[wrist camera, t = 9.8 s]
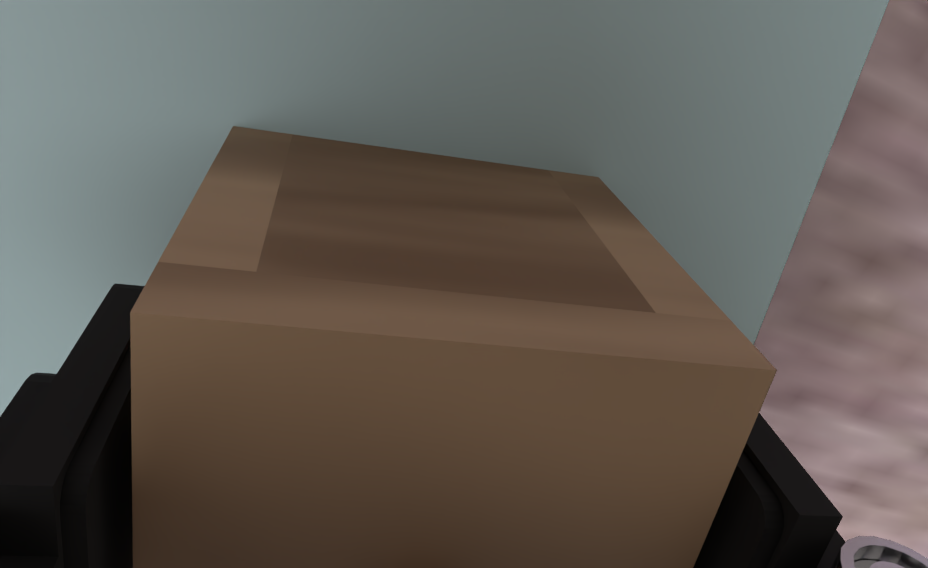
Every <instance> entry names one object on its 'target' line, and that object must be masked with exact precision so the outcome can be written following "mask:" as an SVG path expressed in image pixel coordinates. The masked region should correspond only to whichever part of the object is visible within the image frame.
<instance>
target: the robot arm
mask: <svg viewBox="0 0 928 568" xmlns="http://www.w3.org/2000/svg"><path fill="white" fill-rule="evenodd" d="M143 288H144V286H139V285H127V284H114V285H113V286H112V287H111V289H110V290H109V292H108V293H107V295H106V297H105V298H104V300H103V301H102V303H101V304H100V306H99V308H98V309H97V311H96V312H95V314H94V316H93V317H92V319H91V320H90V322H89V323H88V325H87V327H86V328H85V330H84V331H83V333H82V335H81V336H80V338H79V339H78V341H77V342H76V344H75V346H74V347H73V349H72V350H71V352H70V354H69V355H68V357H67V358H66V360H65V361H64V363H63V365H62V366H61V368H60V369H59V371H58V373H57V374H52V373H34V374H31V375H30V376H29V377H28V378H27V379H26V380H25V381H24V383H23V384H22V386H21V387H20V389H19V390H18V392H17V393H16V394H15V396H14V397H13V399H12V400H11V402H10V403H9V405H8V406H7V407H6V409H5V410H4V412H3V413H2V415H1V416H0V568H133V527H132V434H131V342H130V312H131V310H132V308H133V306H134V305H135V303H136V301H137V299H138V297H139V295H140V294H141V292H142V290H143ZM842 517H843V516H842V515H841V514H840V513H839V511H838V510H837V509H836V508H835V506H834V505H833V504H832V503H831V502H830V500H829V499H828V498H827V497H826V495H825V494H824V493H823V492H822V490H821V489H820V488H819V487H818V485H817V484H816V483H815V482H814V480H813V479H812V478H811V477H810V475H809V474H808V473H807V472H806V471H805V469H804V468H803V467H802V466H801V464H800V463H799V462H798V461H797V459H796V458H795V457H794V456H793V454H792V453H791V452H790V451H789V449H788V448H787V447H786V446H785V444H784V443H783V442H782V441H781V440H780V438H779V437H778V436H777V435H776V433H775V432H774V431H773V430H772V428H771V427H770V426H769V425H768V423H767V422H766V421H765V420H764V418H763V417H762V416H761V415H760V413H759V414H758V416H757V418H756V421H755V423H754V425H753V428H752V430H751V432H750V435H749V437H748V440H747V442H746V444H745V447H744V449H743V451H742V454H741V456H740V458H739V461H738V463H737V465H736V468H735V470H734V473H733V475H732V477H731V480H730V482H729V484H728V487H727V489H726V491H725V494H724V496H723V498H722V501H721V503H720V506H719V508H718V510H717V513H716V515H715V517H714V520H713V522H712V524H711V527H710V529H709V531H708V534H707V536H706V539H705V541H704V543H703V546H702V548H701V550H700V553H699V555H698V557H697V560H696V562H695V564H694V567H693V568H928V559H927V558H925V557H924V556H922V555H920V554H919V553H917V552H915V551H914V550H912V549H910V548H908V547H905V546H903V545H901V544H898V543H896V542H894V541H891V540H887V539H882V538H878V537H874V536H858V537H855V538H852V539H849V540H847V541H846V542H845V541H844V539H843V538H842V537H841V536H840V534H839V533H838V532H837V530H836V529H837V527H838V525H839V523H840V521H841V519H842Z"/></svg>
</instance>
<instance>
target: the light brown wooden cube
mask: <svg viewBox="0 0 928 568" xmlns="http://www.w3.org/2000/svg"><path fill="white" fill-rule="evenodd" d="M130 342H131V434H132V527H133V568H693V567H694V564H695V562H696V560H697V557H698V555H699V553H700V550H701V548H702V546H703V543H704V541H705V539H706V536H707V534H708V531H709V529H710V527H711V524H712V522H713V520H714V517H715V515H716V513H717V510H718V508H719V506H720V503H721V501H722V498H723V496H724V494H725V491H726V489H727V487H728V484H729V482H730V480H731V477H732V475H733V473H734V470H735V468H736V465H737V463H738V461H739V458H740V456H741V454H742V451H743V449H744V447H745V444H746V442H747V440H748V437H749V435H750V432H751V430H752V428H753V425H754V423H755V421H756V418H757V416H758V414H759V411H760V409H761V407H762V404H763V402H764V399H765V397H766V395H767V392H768V390H769V388H770V385H771V383H772V381H773V378H774V376H775V373H776V371H777V370H776V369H775V368H774V367H773V366H772V364H771V363H770V362H769V361H768V360H767V359H766V358H765V357H764V356H763V355H762V354H761V353H760V351H759V350H758V349H757V348H756V347H755V346H754V345H753V344H752V343H751V342H750V341H749V340H748V338H747V337H746V336H745V335H744V334H743V333H742V332H741V331H740V330H739V329H738V328H737V327H736V325H735V324H734V323H733V322H732V321H731V320H730V319H729V318H728V317H727V316H726V315H725V314H724V312H723V311H722V310H721V309H720V308H719V307H718V306H717V305H716V304H715V303H714V302H713V301H712V299H711V298H710V297H709V296H708V295H707V294H706V293H705V292H704V291H703V290H702V289H701V288H700V286H699V285H698V284H697V283H696V282H695V281H694V280H693V279H692V278H691V277H690V276H689V275H688V273H687V272H686V271H685V270H684V269H683V268H682V267H681V266H680V265H679V264H678V263H677V262H676V260H675V259H674V258H673V257H672V256H671V255H670V254H669V253H668V252H667V251H666V250H665V249H664V247H663V246H662V245H661V244H660V243H659V242H658V241H657V240H656V239H655V238H654V237H653V236H652V234H651V233H650V232H649V231H648V230H647V229H646V228H645V227H644V226H643V225H642V224H641V223H640V221H639V220H638V219H637V218H636V217H635V216H634V215H633V214H632V213H631V212H630V211H629V210H628V208H627V207H626V206H625V205H624V204H623V203H622V202H621V201H620V200H619V199H618V198H617V197H616V195H615V194H614V193H613V192H612V191H611V190H610V189H609V188H608V187H607V186H606V185H605V184H604V182H603V181H602V180H601V179H600V178H599V177H594V176H587V175H580V174H573V173H565V172H558V171H551V170H544V169H537V168H530V167H523V166H515V165H508V164H501V163H494V162H487V161H480V160H473V159H465V158H458V157H451V156H444V155H437V154H430V153H422V152H415V151H408V150H401V149H394V148H387V147H380V146H372V145H365V144H358V143H351V142H344V141H337V140H330V139H322V138H315V137H308V136H301V135H294V134H287V133H280V132H272V131H265V130H258V129H251V128H244V127H237V126H233V127H232V129H231V131H230V132H229V134H228V136H227V138H226V140H225V142H224V143H223V145H222V147H221V149H220V151H219V152H218V154H217V156H216V158H215V160H214V161H213V163H212V165H211V167H210V169H209V170H208V172H207V174H206V176H205V178H204V180H203V181H202V183H201V185H200V187H199V189H198V190H197V192H196V194H195V196H194V198H193V199H192V201H191V203H190V205H189V207H188V209H187V210H186V212H185V214H184V216H183V218H182V219H181V221H180V223H179V225H178V227H177V228H176V230H175V232H174V234H173V236H172V238H171V239H170V241H169V243H168V245H167V247H166V248H165V250H164V252H163V254H162V256H161V257H160V259H159V261H158V263H157V265H156V266H155V268H154V270H153V272H152V274H151V276H150V277H149V279H148V281H147V283H146V285H145V286H144V288H143V290H142V292H141V294H140V295H139V297H138V299H137V301H136V303H135V305H134V306H133V308H132V310H131V312H130Z"/></svg>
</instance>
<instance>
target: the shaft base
mask: <svg viewBox="0 0 928 568" xmlns="http://www.w3.org/2000/svg"><path fill="white" fill-rule="evenodd" d="M888 2H889V0H0V416H1V415H2V413H3V412H4V410H5V409H6V407H7V406H8V405H9V403H10V402H11V400H12V399H13V397H14V396H15V394H16V393H17V392H18V390H19V389H20V387H21V386H22V384H23V383H24V381H25V380H26V379H27V378H28V377H29V376H30V375H31V374H34V373H52V374H57V373H58V371H59V369H60V368H61V366H62V365H63V363H64V361H65V360H66V358H67V357H68V355H69V354H70V352H71V350H72V349H73V347H74V346H75V344H76V342H77V341H78V339H79V338H80V336H81V335H82V333H83V331H84V330H85V328H86V327H87V325H88V323H89V322H90V320H91V319H92V317H93V316H94V314H95V312H96V311H97V309H98V308H99V306H100V304H101V303H102V301H103V300H104V298H105V297H106V295H107V293H108V292H109V290H110V289H111V287H112V286H113V285H114V284H127V285H139V286H145V285H146V283H147V281H148V279H149V277H150V276H151V274H152V272H153V270H154V268H155V266H156V265H157V263H158V261H159V259H160V257H161V256H162V254H163V252H164V250H165V248H166V247H167V245H168V243H169V241H170V239H171V238H172V236H173V234H174V232H175V230H176V228H177V227H178V225H179V223H180V221H181V219H182V218H183V216H184V214H185V212H186V210H187V209H188V207H189V205H190V203H191V201H192V199H193V198H194V196H195V194H196V192H197V190H198V189H199V187H200V185H201V183H202V181H203V180H204V178H205V176H206V174H207V172H208V170H209V169H210V167H211V165H212V163H213V161H214V160H215V158H216V156H217V154H218V152H219V151H220V149H221V147H222V145H223V143H224V142H225V140H226V138H227V136H228V134H229V132H230V131H231V129H232V127H233V126H237V127H244V128H251V129H258V130H265V131H272V132H280V133H287V134H294V135H301V136H308V137H315V138H322V139H330V140H337V141H344V142H351V143H358V144H365V145H372V146H380V147H387V148H394V149H401V150H408V151H415V152H422V153H430V154H437V155H444V156H451V157H458V158H465V159H473V160H480V161H487V162H494V163H501V164H508V165H515V166H523V167H530V168H537V169H544V170H551V171H558V172H565V173H573V174H580V175H587V176H594V177H599V178H600V179H601V180H602V181H603V182H604V184H605V185H606V186H607V187H608V188H609V189H610V190H611V191H612V192H613V193H614V194H615V195H616V197H617V198H618V199H619V200H620V201H621V202H622V203H623V204H624V205H625V206H626V207H627V208H628V210H629V211H630V212H631V213H632V214H633V215H634V216H635V217H636V218H637V219H638V220H639V221H640V223H641V224H642V225H643V226H644V227H645V228H646V229H647V230H648V231H649V232H650V233H651V234H652V236H653V237H654V238H655V239H656V240H657V241H658V242H659V243H660V244H661V245H662V246H663V247H664V249H665V250H666V251H667V252H668V253H669V254H670V255H671V256H672V257H673V258H674V259H675V260H676V262H677V263H678V264H679V265H680V266H681V267H682V268H683V269H684V270H685V271H686V272H687V273H688V275H689V276H690V277H691V278H692V279H693V280H694V281H695V282H696V283H697V284H698V285H699V286H700V288H701V289H702V290H703V291H704V292H705V293H706V294H707V295H708V296H709V297H710V298H711V299H712V301H713V302H714V303H715V304H716V305H717V306H718V307H719V308H720V309H721V310H722V311H723V312H724V314H725V315H726V316H727V317H728V318H729V319H730V320H731V321H732V322H733V323H734V324H735V325H736V327H737V328H738V329H739V330H740V331H741V332H742V333H743V334H744V335H745V336H746V337H747V338H748V340H749V341H750V342H751V343H752V344H753V345H754V342H755V340H756V337H757V335H758V332H759V330H760V327H761V325H762V322H763V320H764V317H765V314H766V312H767V309H768V307H769V304H770V302H771V299H772V297H773V294H774V292H775V289H776V287H777V284H778V281H779V279H780V276H781V274H782V271H783V269H784V266H785V264H786V261H787V259H788V256H789V254H790V251H791V248H792V246H793V243H794V241H795V238H796V236H797V233H798V231H799V228H800V226H801V223H802V221H803V218H804V215H805V213H806V210H807V208H808V205H809V203H810V200H811V198H812V195H813V193H814V190H815V187H816V185H817V182H818V180H819V177H820V175H821V172H822V170H823V167H824V165H825V162H826V160H827V157H828V154H829V152H830V149H831V147H832V144H833V142H834V139H835V137H836V134H837V132H838V129H839V127H840V124H841V121H842V119H843V116H844V114H845V111H846V109H847V106H848V104H849V101H850V99H851V96H852V93H853V91H854V88H855V86H856V83H857V81H858V78H859V76H860V73H861V71H862V68H863V66H864V63H865V60H866V58H867V55H868V53H869V50H870V48H871V45H872V43H873V40H874V38H875V35H876V33H877V30H878V27H879V25H880V22H881V20H882V17H883V15H884V12H885V10H886V7H887V5H888Z"/></svg>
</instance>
